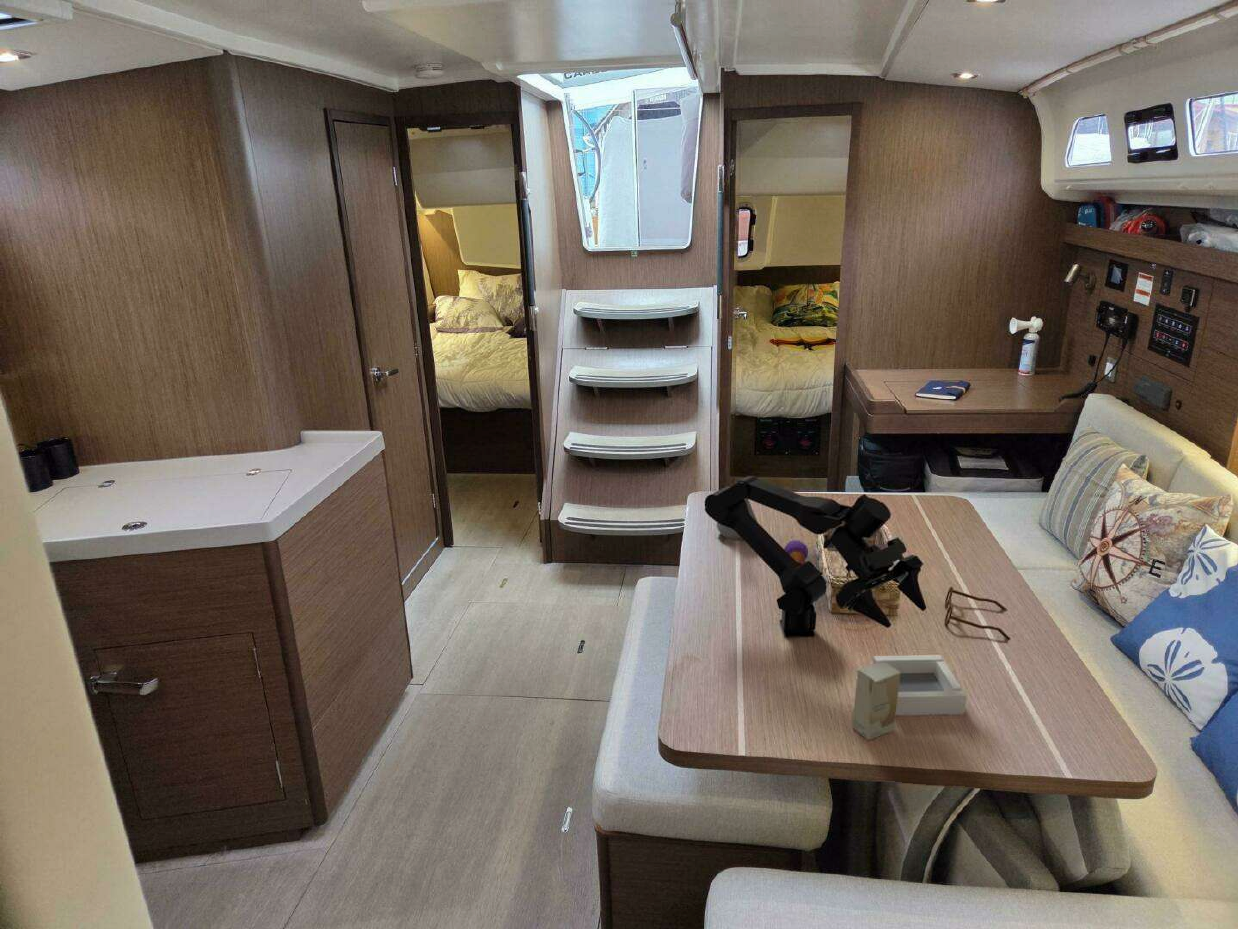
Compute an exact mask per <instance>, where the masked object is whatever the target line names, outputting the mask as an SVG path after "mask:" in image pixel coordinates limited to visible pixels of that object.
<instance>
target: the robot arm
mask: <svg viewBox="0 0 1238 929" xmlns="http://www.w3.org/2000/svg"><path fill="white" fill-rule="evenodd" d="M746 498H747V499H748V500H749V501H751V502H752V501H753V502H754V503H757V504H759V505H762V506H764V507H766V508H769V509H771V510H775V511H777V512H780V513H782V514H785V515H787V516H789V517H791V518H793V519H795V521H796V523H797V524H798V525H800V527H802V528H804V529H806V530H807V531H809V532H810V533H813V534H814V535H822V534H824V540H823V549H830V548H835V550H836V551H837V552H838V554H839V555H840V556H841V557H842V559H843V560H844V561H845V563H846V564H847V565H846V566H845V567H844V568H845V570H846V571H847V572H848V573H849V572H853V573H854V575H855V576H856V577H857V578H855V579H852V580H850V581H847V582H846V583H843V585H841V587H840V589H839V590H838V591H837V593H836V594H835V602H836V604H837V605H838V607H839V608H840V610H845V609H846V608H847V611H849V612H851V611H854V612H857V613H859V614H860V615H862V616H865V617H867V618H869V619H870V620H872V621H874V622H876V623H877V624H880V625H881V626H883V627H885V628H886V629H888V628H890V627H891V626H892V623H891V622H890V620H889V619H888V617H887V615H886V614H885V613H884V612H883V610H882V609H881V607H880V606H879V605H878V604H877V602H876V601H875V599H874V595H873V591H872V590H873V589H876V588H878V587H880V586H882V585H885V584H887V583H889V582H892V581H893V582H894V583H896V584H898V585H897V586H896V587H897V589H898V590H899V591H900V592H901V593H902V594H903V595H904V596H905V597H907V599H909V601H911V603H913V604H914V605H915V607H917V608H918V609H919V610H920V611H922V612H924V611H926V610H927V605H926V602H925V600H924V596H923V594H922V591H921V588H920V583H919V574H920V572H921V571H922V570H921V569H922V567H923V566H924V562H923V561H922V560H921V559H920V558H919V557H918V556H917V555H914V554H911V555H908V556H905V557H904V555H903V554H905V553H907V547H906V545H905V543H904V542H903V541H902V540H901V538H900V537H895V538H893V539H890V540H888V541H887V542H886V545H887V546H886V547H883V548H882V549H880V548H879V545H876V544H872V545H870V543H869V542H868V541H867V539H870V538H872V537H874V536H875V535H876V533H878V532H879V531H880V529H881V528H882V527H883V526H884V525H885V524H886V523H887V522H888V521H889V520H890V519H891V511H890V509H889V507H888V506H887V505H886V504H885V503H884V502H883V501H880V500H878V499H877V498H874V497H869V496H868V495H866V494H865V493H863V494H862V495H860V496H858V498H857V499H856V500H855V502H854V503H853V505H846V504H843V503H839V502H838V501H836V500H835V499H832V498H828V497H822V496H804V495H801V494H799V493H796V492H792V491H790V490H789V489H785V488H781V487H779V486H777V485H775V484H771V483H769V482H766V481H764V480H761V479H759V477H757V476H752V475H749V476H746V477H745V478H743V479H740V480H738V481H737V482H736V483H735V484H734V485H732V486H726V487H723V488H720V489H719V490H717V491H714V492H713V493H711V494H708V495H707V496H706V497H705V499H704V511H705V513H706V514H707V515H708V516H709V518H711V519H712V520H713V521H714V522H716V524H717V523H719V524H720V525H723V526H725V527H728V528H731V529H733V530H734V531H735V532H736V533H737V534H738V535H739V536H740V537H741V538H742V539H743V540H742V541H744V542H745V543H746V544H747V545H748V546H749V548H750V549H752V551H753V552H754V553H755V554H756V555H757V556H758V557H759V558H760V559H761V560H762V561H763V562H764V563H765V564H766V565H767V566H768V567H769V568H770V569H771V570H772V571H773V573H774V574H776V575H777V577H778V578H779V582H780V584H781V589H782V591H783V593H784V594H782V595H781V596H780V597H777V599H776V604H777V607H778V609H779V610H781V619H780V620H779V624H780V627H781V631H782V634H783V636H784V638H812V637H815V636H816V635H815V634H816V633H815V631H814V630H816V626H817V611H816V609H815V606H814V603H816V602H817V601H819V599H820V598H822V597H823V596H825V594H827V591H828V588H827V581H826V579H825V577H824V576H823V575H824V573H823V572H822V571H820V570H819V569H817V567H816V566H815V565H814V564H813V563H812V562H811V561H810V560H807V561H806V562H805V561H804V563H803V564H802V563H799V562H797V561H795V560H794V559H793V558H792V557H791V556H790V555H789V554H788V553H787V552H786V551H785V550H784V548H783V546H781V545H780V543H778V542H777V541H776V540H775V539H774V537H773V536H772V535H771V534H769V533H768V531H766V529H765V528H763V527H762V525H761V524H760V523H759V522H758V520H757V521H756V520H755V519H754V518H753V517H752V516H751V515H750V514H749V510H748V507H747V503H746V501H745V499H746ZM842 524H843V525H842ZM831 529H834V530H833V532H831V533H827V534H825V533H826V532H828V531H829V530H831ZM895 562H896V564H895ZM890 568H892V569H890Z"/></svg>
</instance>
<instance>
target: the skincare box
mask: <svg viewBox="0 0 1238 929" xmlns="http://www.w3.org/2000/svg"><path fill="white" fill-rule="evenodd" d="M900 673H901V672H900V671H898V670H897V669H895V668H894V667H892V666H891V665H890V664H888V663H887V662H885V661H881V662H878V663H875V664H873V663H872V664H870V665H867V666H865V667H861V668H859V669H857V678H856V688H855V696H854V707H853V716H852V723H851V727H852V729H854V730H855V731H856V732H858V733H859V734H860V735H861V736H863V737H864V738H865V739H867V740H868V741H870V740H872V739H876V738H877V737H880V736H882V735H884V734H888V733H891V731H894V728H895V719H896V715H895V713H896V705H897V697H898V689H899V681H900Z"/></svg>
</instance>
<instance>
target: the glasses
mask: <svg viewBox="0 0 1238 929" xmlns="http://www.w3.org/2000/svg"><path fill="white" fill-rule="evenodd" d="M953 594H956V595H959V596H962V597H965V598H969V599H970V600H974V601H978V602H986V603H990V604H991V603H992V604H994V605H996V606H998V607H999V608H1000V609H1001V610H1002V611H1008V609H1007V607H1005V606H1004V605H1003V604H1001V603H1000V602H998V601H997V600H994V599H990V598H985V597H984V598H982V597H978V596H974V595H972V594H968V593H965V592H962V591H959V590H955V589H954V587H953V586H950V587H949V589H948V591H947V594H946V597H945V600H944V607H945V608H948V609H947V611H946V614H945V617H944V625H943V626H944V627H948V626H949V623H950V621H951V620H953V621H956V622H959V623H962V624H965V625H969V626H971V627H974V628H977V629H983V630H984V629H985V630H993V631H998V633H999V634H1001V635H1002V637H1004V638H1005V639H1007V640H1011V637H1010V636H1009V635H1007V633H1006V632H1004V631H1003V629H1001V628H1000V627H997V626H992V625H982V624H979V623H975V622H972V621H969V620H966V619H962V618H959V617H956V616H954V615H953V612H954V611H953V610H954V605H953V604H952V596H953Z"/></svg>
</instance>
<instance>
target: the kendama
mask: <svg viewBox="0 0 1238 929" xmlns="http://www.w3.org/2000/svg"><path fill="white" fill-rule="evenodd" d="M783 549H784V550H785V551H786V552H787V553H788V554H789V555H790V556H791V557H792V558H793V559H794V560H795V561H797V562H799V563H802V564H804V563H805V561H806V560H807V559H808V557H809V555H808V554H809V549H808V547H807V545H806V544H805V543H804V542H802V541H801V540H796V539H793V540H791V541H789V542H788V543H786V545H785V546H784V548H783Z"/></svg>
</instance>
